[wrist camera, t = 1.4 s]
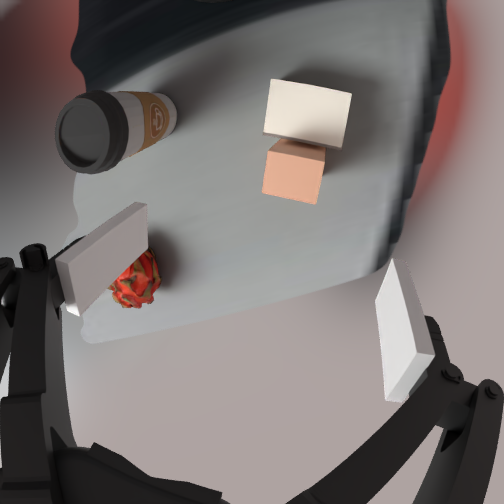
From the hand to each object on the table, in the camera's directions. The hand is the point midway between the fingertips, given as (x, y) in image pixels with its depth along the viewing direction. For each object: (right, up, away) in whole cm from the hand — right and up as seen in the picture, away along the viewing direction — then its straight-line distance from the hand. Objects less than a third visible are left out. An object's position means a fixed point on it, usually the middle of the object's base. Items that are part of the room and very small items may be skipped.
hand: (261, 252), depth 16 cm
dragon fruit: (-17, -2, +33) cm, 38 cm away
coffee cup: (-13, +18, +21) cm, 31 cm away
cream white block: (+6, +16, +17) cm, 24 cm away
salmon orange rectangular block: (+5, +11, +20) cm, 24 cm away
